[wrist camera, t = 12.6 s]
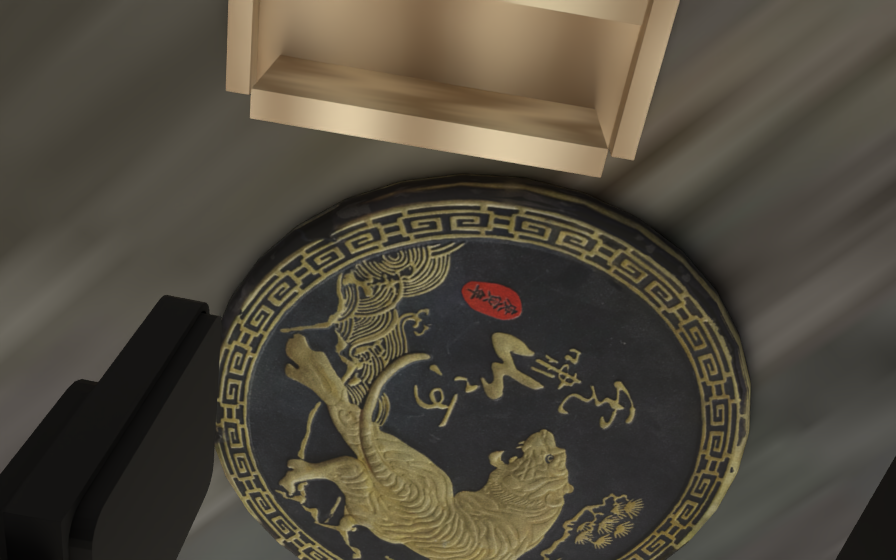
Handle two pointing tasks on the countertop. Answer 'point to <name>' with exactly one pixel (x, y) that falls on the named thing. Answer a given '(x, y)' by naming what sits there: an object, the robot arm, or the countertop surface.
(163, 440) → the robot arm
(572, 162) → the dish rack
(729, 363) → the decorative plate
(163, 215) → the countertop surface
